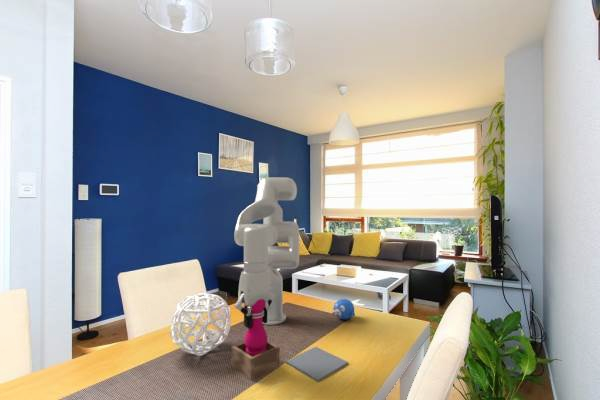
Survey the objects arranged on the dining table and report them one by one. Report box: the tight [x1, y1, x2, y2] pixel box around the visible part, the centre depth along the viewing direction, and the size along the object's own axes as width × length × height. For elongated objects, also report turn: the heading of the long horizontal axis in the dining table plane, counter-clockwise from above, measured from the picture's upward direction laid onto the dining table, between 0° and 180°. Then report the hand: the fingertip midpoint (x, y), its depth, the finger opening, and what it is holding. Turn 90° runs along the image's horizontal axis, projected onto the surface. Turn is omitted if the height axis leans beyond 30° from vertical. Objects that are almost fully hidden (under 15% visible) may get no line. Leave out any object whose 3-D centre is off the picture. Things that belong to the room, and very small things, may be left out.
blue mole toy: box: [331, 298, 356, 320], centre depth 132 cm, size 12×12×8 cm
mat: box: [285, 346, 349, 382], centre depth 96 cm, size 14×14×1 cm
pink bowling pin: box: [243, 299, 269, 357], centre depth 95 cm, size 7×7×20 cm
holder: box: [230, 340, 281, 381], centre depth 95 cm, size 11×11×6 cm
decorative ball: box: [169, 292, 232, 357], centre depth 104 cm, size 20×20×19 cm
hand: (255, 323), depth 95 cm, fingers closed on pink bowling pin, 5 cm apart
